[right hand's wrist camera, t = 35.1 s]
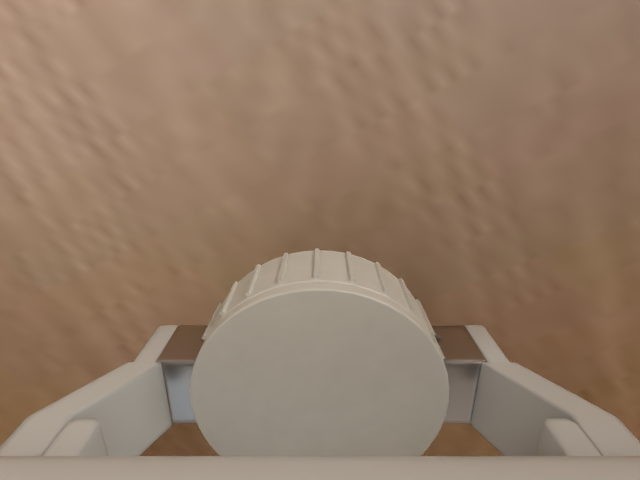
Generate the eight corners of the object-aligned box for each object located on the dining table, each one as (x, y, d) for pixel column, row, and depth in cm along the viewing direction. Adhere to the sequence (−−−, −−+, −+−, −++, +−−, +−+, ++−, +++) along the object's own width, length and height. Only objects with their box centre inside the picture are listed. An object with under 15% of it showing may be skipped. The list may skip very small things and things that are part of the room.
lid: (450, 259, 9) (483, 301, 8) (406, 437, 12) (422, 505, 10) (212, 235, 9) (184, 272, 7) (211, 419, 11) (188, 486, 9)
